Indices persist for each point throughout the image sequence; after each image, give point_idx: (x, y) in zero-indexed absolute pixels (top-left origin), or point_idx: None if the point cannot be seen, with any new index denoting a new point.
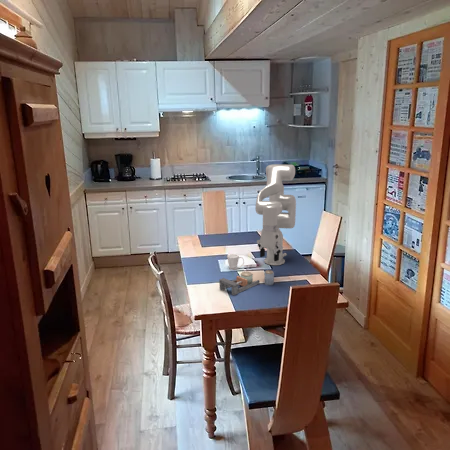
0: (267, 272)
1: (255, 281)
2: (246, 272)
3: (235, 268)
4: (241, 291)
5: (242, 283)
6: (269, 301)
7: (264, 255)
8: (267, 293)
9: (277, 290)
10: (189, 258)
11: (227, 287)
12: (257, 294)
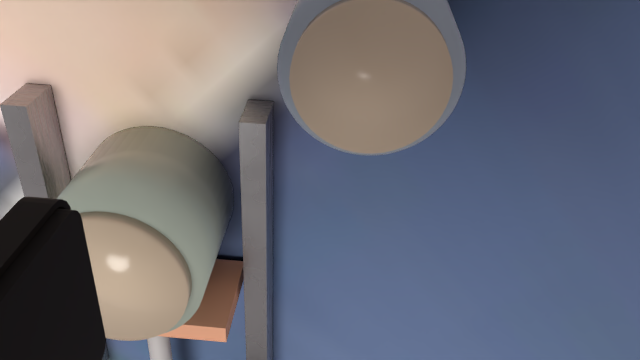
0: (370, 138)
1: (252, 181)
2: None
3: None
4: (272, 349)
5: None
6: (626, 354)
7: (71, 226)
8: (519, 244)
9: (593, 116)
10: None
11: (106, 350)
12: (438, 311)
